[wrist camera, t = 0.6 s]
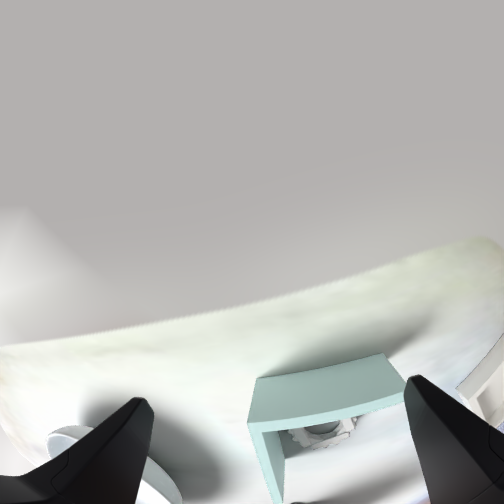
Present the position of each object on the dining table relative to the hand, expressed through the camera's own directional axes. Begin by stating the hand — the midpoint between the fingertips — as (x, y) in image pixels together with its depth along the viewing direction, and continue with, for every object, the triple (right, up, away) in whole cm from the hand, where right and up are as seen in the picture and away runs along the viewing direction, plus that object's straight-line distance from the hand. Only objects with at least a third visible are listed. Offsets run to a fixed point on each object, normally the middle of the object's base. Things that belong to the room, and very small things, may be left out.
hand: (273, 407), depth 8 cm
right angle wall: (+7, -11, +16) cm, 21 cm away
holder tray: (+31, -11, +13) cm, 35 cm away
